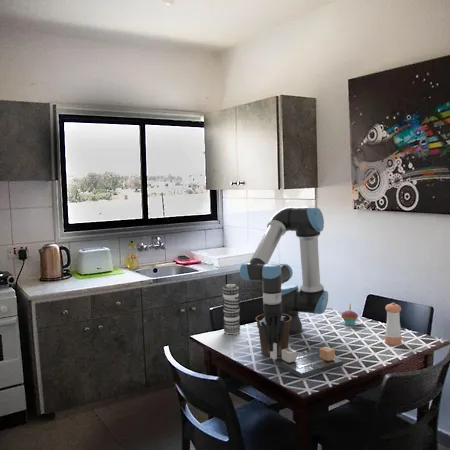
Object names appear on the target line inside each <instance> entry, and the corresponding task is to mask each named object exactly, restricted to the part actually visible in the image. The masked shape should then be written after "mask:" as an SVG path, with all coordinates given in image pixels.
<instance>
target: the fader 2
mask: <svg viewBox="0 0 450 450" xmlns="http://www.w3.org/2000/svg"><path fill="white" fill-rule="evenodd" d="M319 351H320V358H322V359H324V360H327V361H330V360H333V359H335V358H336V349H334V348H332V347H329V346H323V347H320V348H319Z"/></svg>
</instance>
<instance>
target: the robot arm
mask: <svg viewBox="0 0 450 450" xmlns="http://www.w3.org/2000/svg"><path fill="white" fill-rule="evenodd" d="M324 224H325V220H324V214H323V213H322V211H321V209H320V208H318V207H317V206H316V207H315V206H287V207H284V208H282V209H280V210H279V211H277V212H276V213H275V214H274V215H273V216H272V217H271V218H270V219H269V221H268V223H267V225H266V231H265V233H264V235H263V236H262V238H261V240H260V242H259V243H258V245H257V248H256V249H255V251H254V253H253V255H252V257H251V259H250V260H249V262H244V263H242V264H241V265H240V268H239V275H240V278H241V279H242V280H243V281H249V282H261V283H262V302H263V304H262V305H263V306H262V309H263V314H264V316H263V319H262V320H261V321H259V322H258V323H259V324H260V326H261V330H262V334H263V338H264V342H266V343H268V344H269V351H270V355H269V358H270V359H272V360H275V359H277V358H278V357H277V350H278V343H280V342H279V341H280V340H282V337H283V331H284V325H285V321H286V319H287V317H284V316H282V314H287V315H289V316H291V317H292V319H291V322H290V328H289V336H290V335H296V334H299V333H301V332H302V331H303V324H302V321H301V319H300V315H299V313H307V314H313V315H316V314H317V315H322V314H323V313H325V311H326V310H327V307H328V302H329V292H328V291H327V290H325V288H324V285H323V284H322V283H321V273H320V260H319V259H320V258H319V245H318V244H319V242H318V237H319V236H321V232H322V231H324V227H325V225H324ZM289 231H291V232H295V236H296V237H297V238H298V239H299V248H300V249H299V251H300V263H301V264H300V265H301V277H302V278H301V280H302V284H301V285H300V286H298V284H284V283H286V282H289V281H290V280H291V278H292V277H293V273H294V272H293V268H292V267H291V266H290V265H289V264H287V263H280V264H278V263H269V261H270V259H271V258H272V256H273V253H274V252H275V250H276V248H277V246H278V244H279V242H280V240H281V239H282V236H284V235H286V233H287V232H289ZM282 284H283V285H282ZM265 321H266V322H265ZM266 323H267V327H266ZM267 330H268V331H267Z"/></svg>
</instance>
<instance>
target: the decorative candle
mask: <svg viewBox="0 0 450 450" xmlns="http://www.w3.org/2000/svg"><path fill="white" fill-rule="evenodd" d="M222 290H223V291H222V292H223V293H222V296H221V300H222V311H223V314H224V316H223V333H226V334H237V335H239V334H241V322H240V321H241V320H240V319H241V318H240V310H241V309H240V306H239V305H240V304H241V303H240V302H241V301H240V300H239V299H240V298H241V296H240V295H239V286H237V285H236V284H234V283H228V284H225V285H224V286H223V287H222ZM238 333H239V334H238ZM226 334H225V335H226Z"/></svg>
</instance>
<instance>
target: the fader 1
mask: <svg viewBox="0 0 450 450" xmlns="http://www.w3.org/2000/svg"><path fill="white" fill-rule="evenodd" d="M297 353H298V352H297V350H295V349H293V348H290V347H288V348H285V349H283V350H282V356H281V357H282V359H283V360H285V361H287V362H289V363H290V362H293V361H297Z"/></svg>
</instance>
